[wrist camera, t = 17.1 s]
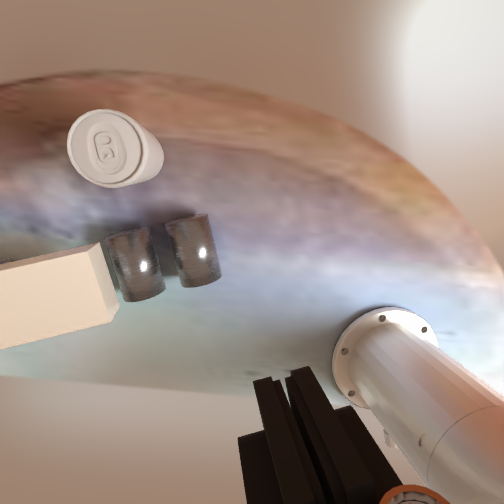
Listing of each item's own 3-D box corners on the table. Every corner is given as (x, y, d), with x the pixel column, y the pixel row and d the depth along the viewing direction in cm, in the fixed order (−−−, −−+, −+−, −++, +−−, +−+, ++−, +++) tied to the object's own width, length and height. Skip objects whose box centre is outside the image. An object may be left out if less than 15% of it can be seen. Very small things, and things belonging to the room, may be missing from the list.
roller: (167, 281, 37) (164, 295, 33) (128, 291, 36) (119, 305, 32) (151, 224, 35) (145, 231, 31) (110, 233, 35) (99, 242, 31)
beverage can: (116, 185, 34) (74, 193, 22) (105, 131, 33) (54, 111, 21) (168, 178, 34) (153, 183, 23) (159, 125, 33) (138, 102, 22)
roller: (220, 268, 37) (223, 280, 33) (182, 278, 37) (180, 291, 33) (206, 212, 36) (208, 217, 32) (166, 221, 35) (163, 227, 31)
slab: (120, 306, 32) (110, 322, 29) (-20, 340, 31) (-46, 361, 28) (99, 242, 31) (87, 251, 27) (-49, 275, 30) (-80, 289, 26)
